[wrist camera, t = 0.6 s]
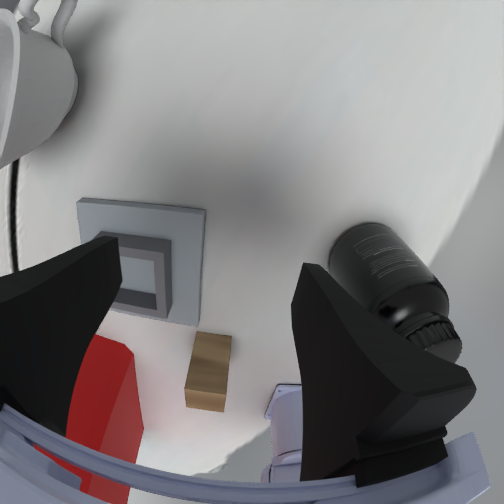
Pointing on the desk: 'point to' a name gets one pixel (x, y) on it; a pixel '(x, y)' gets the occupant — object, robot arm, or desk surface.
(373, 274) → the supplement bottle
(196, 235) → the stand
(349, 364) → the robot arm
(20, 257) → the desk surface
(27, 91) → the teacup
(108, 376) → the book
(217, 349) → the oak peg
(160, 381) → the desk surface
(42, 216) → the desk surface
